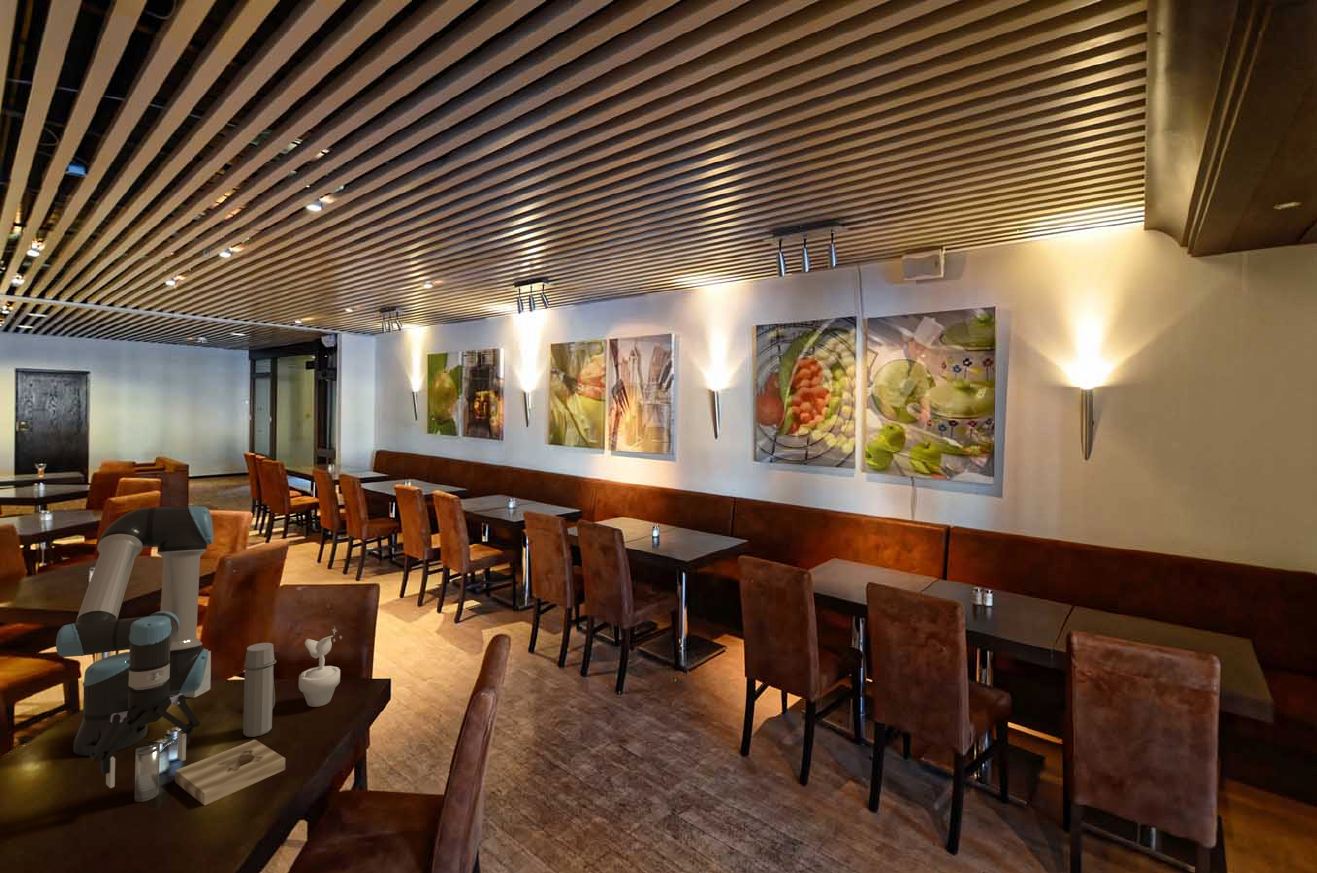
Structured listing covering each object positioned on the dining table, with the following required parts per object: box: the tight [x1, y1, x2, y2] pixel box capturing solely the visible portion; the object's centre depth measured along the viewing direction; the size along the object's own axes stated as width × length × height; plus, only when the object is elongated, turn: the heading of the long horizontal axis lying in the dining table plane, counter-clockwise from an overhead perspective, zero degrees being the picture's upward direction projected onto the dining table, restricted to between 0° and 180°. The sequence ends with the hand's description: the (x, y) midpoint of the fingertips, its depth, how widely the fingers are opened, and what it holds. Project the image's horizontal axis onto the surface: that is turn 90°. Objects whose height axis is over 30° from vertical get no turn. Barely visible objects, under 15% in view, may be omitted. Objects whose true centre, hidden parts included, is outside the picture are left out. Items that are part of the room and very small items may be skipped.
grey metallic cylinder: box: [134, 741, 161, 803], centre depth 143 cm, size 4×4×12 cm
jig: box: [174, 739, 286, 806], centre depth 152 cm, size 16×18×3 cm
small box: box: [171, 650, 212, 699], centre depth 196 cm, size 8×6×13 cm
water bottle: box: [242, 642, 277, 738], centre depth 174 cm, size 9×8×25 cm
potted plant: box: [298, 625, 343, 708], centre depth 193 cm, size 13×12×25 cm
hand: (147, 771), depth 143 cm, fingers open, 13 cm apart
